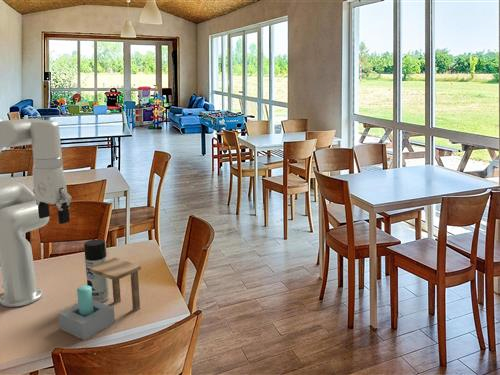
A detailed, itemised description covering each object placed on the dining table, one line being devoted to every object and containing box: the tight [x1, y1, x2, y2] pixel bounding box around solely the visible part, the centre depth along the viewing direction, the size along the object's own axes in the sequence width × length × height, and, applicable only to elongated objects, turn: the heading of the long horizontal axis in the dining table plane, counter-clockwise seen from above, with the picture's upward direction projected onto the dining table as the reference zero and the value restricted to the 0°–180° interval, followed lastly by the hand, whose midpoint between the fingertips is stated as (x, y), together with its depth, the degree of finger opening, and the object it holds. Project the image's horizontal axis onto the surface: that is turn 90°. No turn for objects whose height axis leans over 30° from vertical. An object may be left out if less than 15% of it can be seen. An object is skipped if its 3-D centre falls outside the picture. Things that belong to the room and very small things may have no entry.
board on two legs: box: [89, 257, 142, 311], centre depth 141 cm, size 12×10×15 cm
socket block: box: [57, 300, 116, 341], centre depth 133 cm, size 11×11×5 cm
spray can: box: [83, 238, 110, 304], centre depth 148 cm, size 7×7×20 cm
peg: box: [76, 285, 94, 317], centre depth 132 cm, size 4×4×12 cm
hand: (54, 220), depth 134 cm, fingers open, 9 cm apart
